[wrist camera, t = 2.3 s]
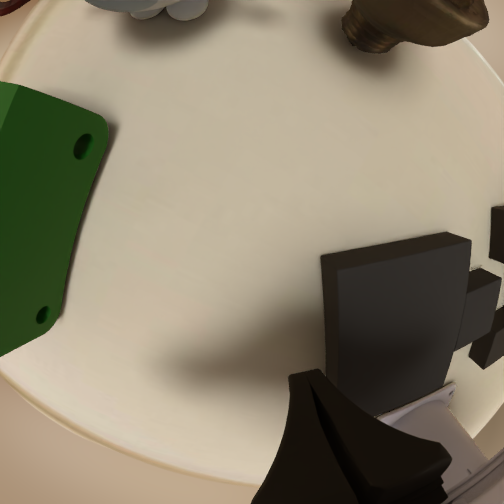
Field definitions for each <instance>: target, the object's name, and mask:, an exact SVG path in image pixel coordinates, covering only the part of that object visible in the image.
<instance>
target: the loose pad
mask: <svg viewBox="0 0 504 504" xmlns="http://www.w3.org/2000/svg"><path fill="white" fill-rule="evenodd" d="M471 244H472V241H471V240H470V239H467V238H464V237H461V236H458V235H455V234H452V233H448V232H444V233H439V234H434V235H429V236H424V237H418V238H413V239H408V240H403V241H398V242H393V243H387V244H382V245H377V246H371V247H366V248H361V249H355V250H350V251H344V252H339V253H333V254H327V255H322V256H321V266H322V280H323V296H324V316H325V346H326V377H327V378H328V379H329V380H330V382H331V383H332V384H333V385H334V386H335V387H336V388H337V389H339V390H340V391H341V392H342V393H343V394H344V395H345V396H346V397H347V398H349V399H350V400H351V401H352V402H353V403H355V404H356V405H357V406H359V407H360V408H361V409H363V410H364V411H365V412H367V413H368V414H370V415H372V416H373V417H374V416H377V415H379V414H382V413H385V412H387V411H390V410H392V409H395V408H397V407H400V406H402V405H404V404H407V403H409V402H411V401H414V400H416V399H418V398H420V397H422V396H424V395H427V394H429V393H431V392H433V391H435V390H437V389H439V388H441V387H442V386H443V384H444V381H445V378H446V375H447V372H448V369H449V366H450V362H451V359H452V356H453V352H454V351H457V350H458V349H460V348H462V347H464V346H466V345H468V344H470V343H471V342H473V341H475V340H477V339H478V338H480V337H482V336H484V335H485V334H487V333H489V332H490V330H491V326H492V323H493V319H494V315H495V310H496V306H497V301H498V297H499V292H500V286H501V280H502V278H501V277H499V276H496V275H494V274H492V273H490V272H488V271H486V270H484V269H482V268H480V269H477V270H474V271H472V272H469V269H470V258H471Z"/></svg>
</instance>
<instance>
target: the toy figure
mask: <svg viewBox="0 0 504 504" xmlns="http://www.w3.org/2000/svg"><path fill="white" fill-rule="evenodd" d="M85 1H86V2H88V3H90V4H92V5H94V6H96V7H99V8H102V9H105V10H110V11H116V12H130V14H131V16H132V17H134V18H136V19H148V18H151V17H153V16H155V15H157V14H158V13H160V12H161V11H162V10H163V9H164V7H166V9H167V12H168V14H169V15H170V16H171V17H172V18H174V19H177V20H182V21H186V20H192V19H195V18H197V17H199V16H200V15H202V14H203V13H204V12H205V10H206V9H207V6H208V0H85Z"/></svg>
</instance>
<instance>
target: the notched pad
mask: <svg viewBox="0 0 504 504" xmlns="http://www.w3.org/2000/svg"><path fill="white" fill-rule="evenodd" d="M489 258H491V259H494V260H496V261H498V262H501V263H503V264H504V206H499V207H492V226H491V244H490V256H489ZM502 356H504V307H502V308H501V309H499V310H497V311H496V312H495V315H494V319H493V323H492V326H491V330H490V332H489V333H487V334H485V335H484V336H482V337H480V338H478V339H477V340H475V341H473V344H472V348H471V351H470V354H469V357H470V358H471V359H472V360H473V361H474V362H475V363H476V364H478V365H479V366H480V367H481V368H482V369H483V370H484V369H485V368H487V367H488V366H490V365H491V364H493V363H494V362H495V361H497V360H498V359H500V358H501V357H502Z"/></svg>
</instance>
